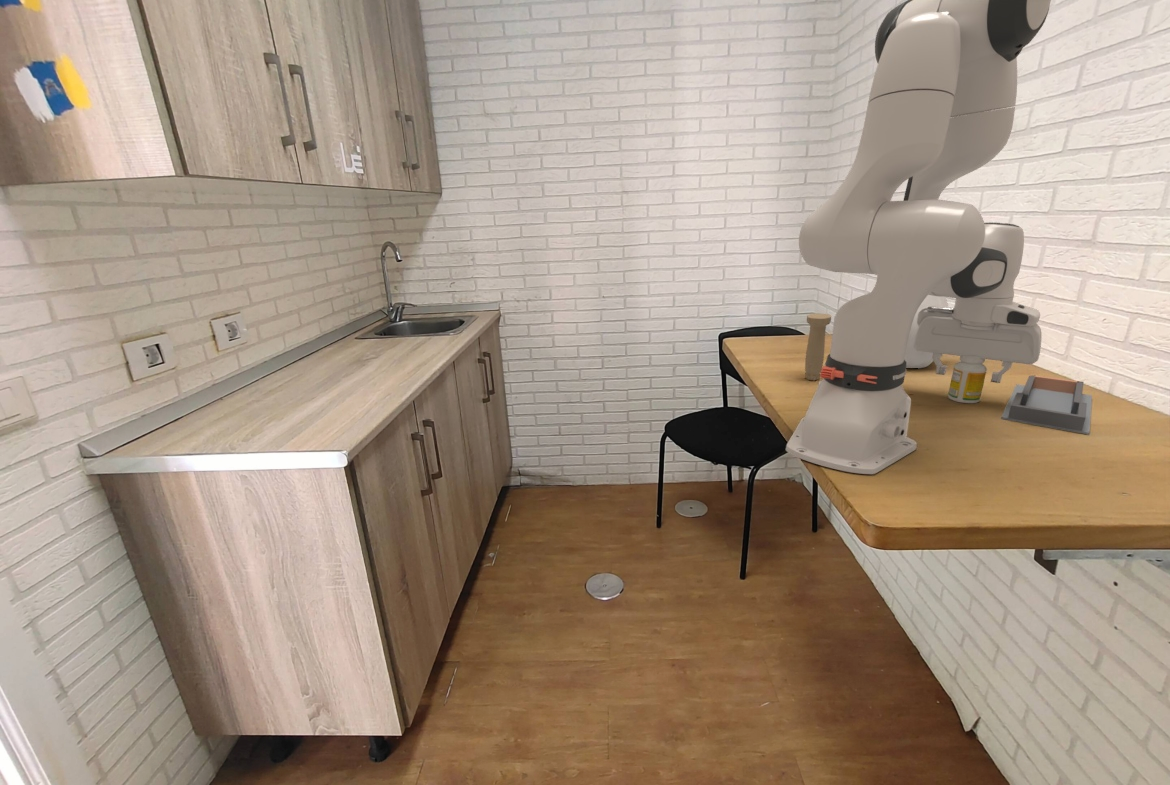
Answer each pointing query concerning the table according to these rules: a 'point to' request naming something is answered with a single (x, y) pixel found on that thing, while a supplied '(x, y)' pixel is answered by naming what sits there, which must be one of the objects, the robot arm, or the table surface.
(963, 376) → the supplement bottle
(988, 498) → the table surface
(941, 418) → the table surface
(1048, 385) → the gray rectangular stand
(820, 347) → the handle
